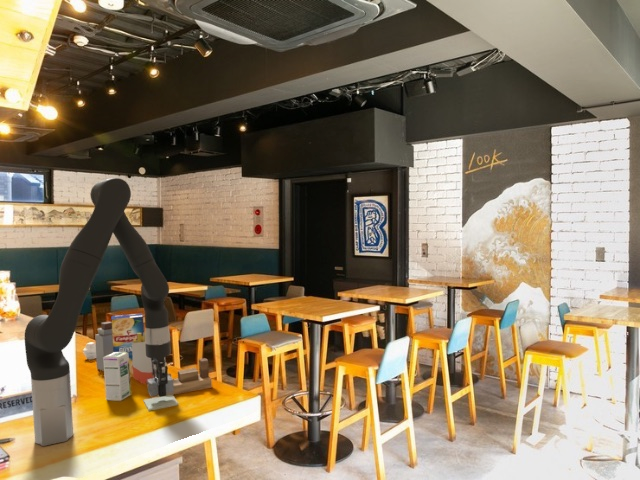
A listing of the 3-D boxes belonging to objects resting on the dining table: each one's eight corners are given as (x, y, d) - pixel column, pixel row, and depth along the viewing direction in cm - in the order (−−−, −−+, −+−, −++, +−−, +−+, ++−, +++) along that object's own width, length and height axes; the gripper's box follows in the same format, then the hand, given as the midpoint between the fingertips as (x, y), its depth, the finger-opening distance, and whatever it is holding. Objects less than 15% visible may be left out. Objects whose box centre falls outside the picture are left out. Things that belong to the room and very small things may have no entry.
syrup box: (121, 401, 163) (119, 356, 163) (105, 400, 165) (102, 356, 164) (131, 394, 169) (129, 351, 168) (115, 394, 170) (113, 351, 169)
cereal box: (146, 374, 190) (143, 316, 189) (114, 379, 186) (111, 319, 185) (145, 369, 196) (142, 313, 195) (114, 373, 192) (111, 316, 191)
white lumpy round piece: (97, 355, 218) (96, 339, 218) (101, 358, 214) (100, 341, 213) (81, 358, 215) (80, 342, 214) (85, 361, 210) (84, 344, 209)
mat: (178, 404, 159) (178, 403, 159) (148, 411, 155) (148, 409, 154) (172, 396, 167) (172, 394, 167) (143, 401, 162) (143, 399, 162)
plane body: (211, 387, 174) (210, 361, 173) (163, 396, 166) (162, 369, 166) (206, 381, 180) (204, 356, 180) (159, 390, 173) (158, 364, 172)
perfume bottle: (96, 368, 200) (94, 323, 199) (113, 364, 205) (111, 320, 204) (104, 371, 195) (102, 325, 194) (121, 367, 200) (119, 322, 199)
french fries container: (133, 381, 183) (130, 331, 182) (164, 376, 187) (162, 328, 186) (134, 384, 179) (131, 334, 178) (166, 380, 183) (163, 330, 182)
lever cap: (173, 392, 160) (173, 379, 160) (150, 396, 157) (150, 383, 157) (170, 387, 165) (169, 375, 164) (147, 391, 161) (147, 379, 161)
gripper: (141, 337, 164) (144, 389, 165) (149, 347, 152) (152, 403, 153) (165, 334, 168) (167, 384, 169) (175, 343, 155) (177, 398, 156)
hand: (160, 393), depth 161 cm, fingers closed on lever cap, 5 cm apart
